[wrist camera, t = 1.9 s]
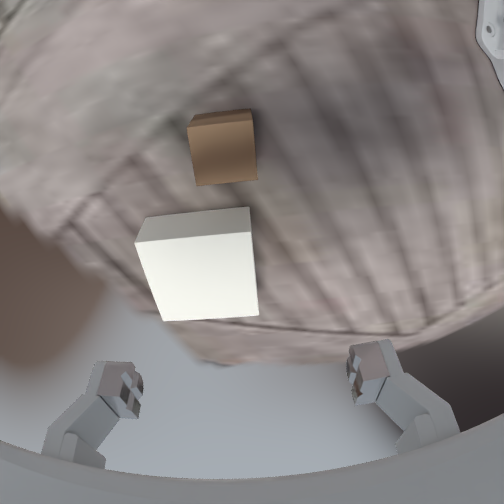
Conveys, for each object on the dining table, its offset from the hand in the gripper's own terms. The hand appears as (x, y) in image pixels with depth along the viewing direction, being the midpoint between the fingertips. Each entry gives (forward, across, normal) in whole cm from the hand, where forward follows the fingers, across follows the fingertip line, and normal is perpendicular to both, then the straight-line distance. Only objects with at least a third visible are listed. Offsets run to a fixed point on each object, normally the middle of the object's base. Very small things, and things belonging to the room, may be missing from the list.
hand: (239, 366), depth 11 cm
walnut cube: (+22, +1, -2) cm, 22 cm away
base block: (+23, +5, +10) cm, 26 cm away
